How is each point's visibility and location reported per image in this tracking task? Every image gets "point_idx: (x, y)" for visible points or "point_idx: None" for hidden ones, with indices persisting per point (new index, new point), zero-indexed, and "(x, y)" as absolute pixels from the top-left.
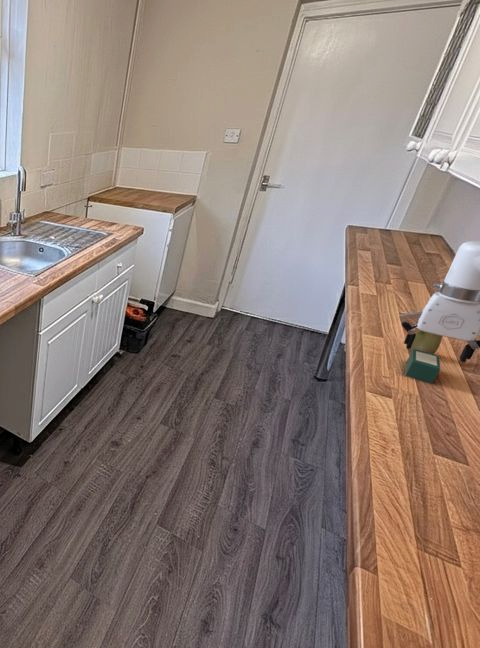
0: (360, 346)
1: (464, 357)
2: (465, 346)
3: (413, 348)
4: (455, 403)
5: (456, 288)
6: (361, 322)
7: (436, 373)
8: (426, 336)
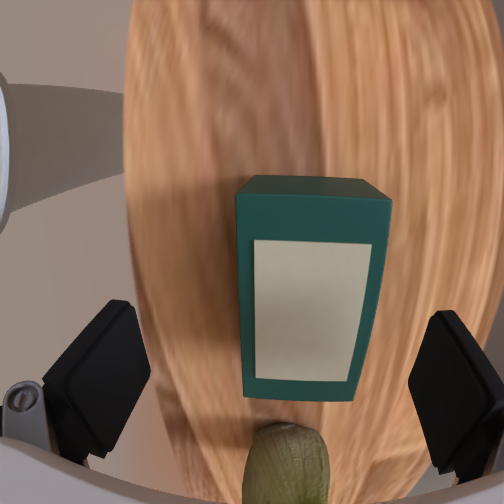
0: None
1: (104, 322)
2: (110, 434)
3: (314, 440)
4: (173, 35)
5: None
6: (396, 491)
7: (248, 185)
8: (292, 495)
